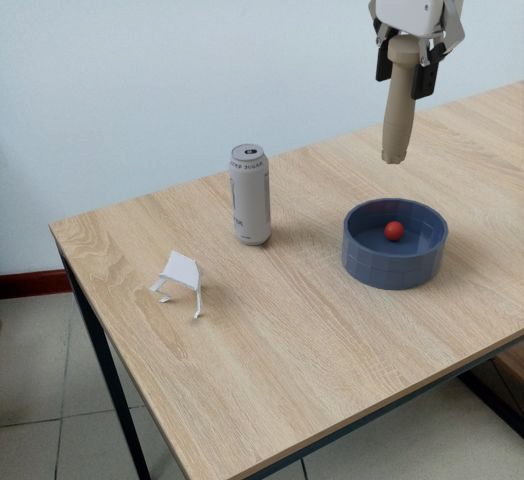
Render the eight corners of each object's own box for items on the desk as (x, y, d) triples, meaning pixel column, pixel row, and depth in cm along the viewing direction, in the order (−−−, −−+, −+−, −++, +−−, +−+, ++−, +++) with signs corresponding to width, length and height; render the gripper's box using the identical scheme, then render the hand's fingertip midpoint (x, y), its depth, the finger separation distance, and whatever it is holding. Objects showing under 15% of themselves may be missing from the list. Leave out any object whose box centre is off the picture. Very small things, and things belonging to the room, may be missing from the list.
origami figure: (141, 292, 80) (134, 267, 77) (186, 268, 84) (181, 242, 80) (187, 333, 74) (182, 307, 70) (234, 305, 77) (231, 279, 74)
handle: (375, 171, 73) (389, 53, 62) (375, 148, 77) (388, 34, 66) (411, 172, 72) (432, 52, 61) (409, 149, 77) (428, 33, 66)
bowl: (396, 219, 90) (401, 187, 86) (461, 266, 81) (470, 233, 76) (322, 250, 85) (323, 218, 81) (382, 303, 76) (387, 270, 72)
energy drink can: (234, 227, 91) (226, 143, 80) (269, 224, 91) (265, 140, 80) (236, 249, 87) (228, 163, 75) (273, 245, 87) (270, 159, 76)
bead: (394, 231, 86) (396, 215, 84) (406, 240, 85) (409, 224, 82) (379, 237, 86) (381, 221, 83) (391, 246, 84) (394, 230, 82)
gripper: (522, -90, 50) (475, 103, 63) (403, -108, 61) (384, 61, 74) (462, -78, 48) (426, 120, 61) (349, -99, 58) (339, 73, 72)
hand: (403, 86), depth 67 cm, fingers closed on handle, 6 cm apart
